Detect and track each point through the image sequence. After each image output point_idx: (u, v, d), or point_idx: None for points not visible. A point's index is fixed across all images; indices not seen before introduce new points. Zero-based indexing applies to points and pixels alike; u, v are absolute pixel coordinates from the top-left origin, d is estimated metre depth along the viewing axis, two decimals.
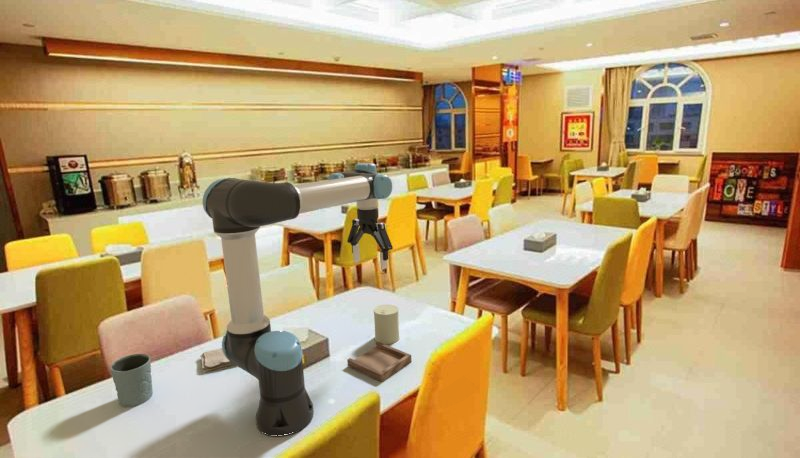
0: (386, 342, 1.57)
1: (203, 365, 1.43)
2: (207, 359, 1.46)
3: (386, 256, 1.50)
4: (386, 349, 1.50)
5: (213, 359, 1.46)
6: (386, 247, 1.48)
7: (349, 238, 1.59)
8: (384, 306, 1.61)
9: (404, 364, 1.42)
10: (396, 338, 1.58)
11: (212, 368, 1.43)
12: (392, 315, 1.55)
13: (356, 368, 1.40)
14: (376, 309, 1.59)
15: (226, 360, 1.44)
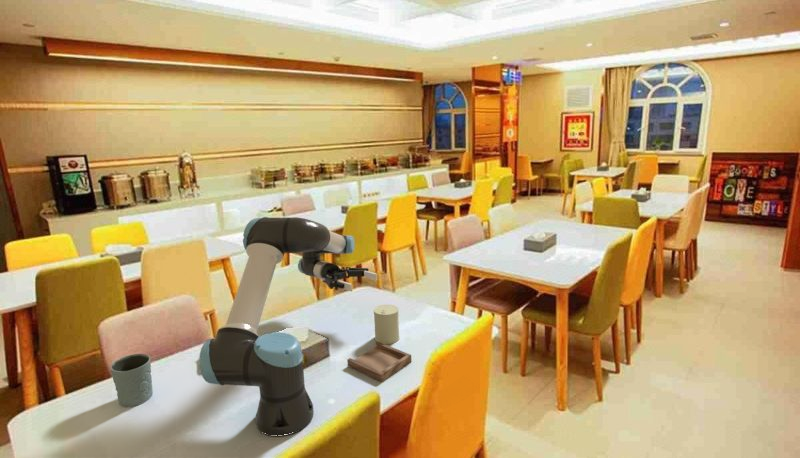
0: (386, 342, 1.57)
1: None
2: None
3: None
4: (386, 349, 1.50)
5: None
6: (365, 268, 1.75)
7: (330, 281, 1.62)
8: (384, 306, 1.61)
9: (404, 364, 1.42)
10: (396, 338, 1.58)
11: None
12: (392, 315, 1.55)
13: (356, 368, 1.40)
14: (376, 309, 1.59)
15: None
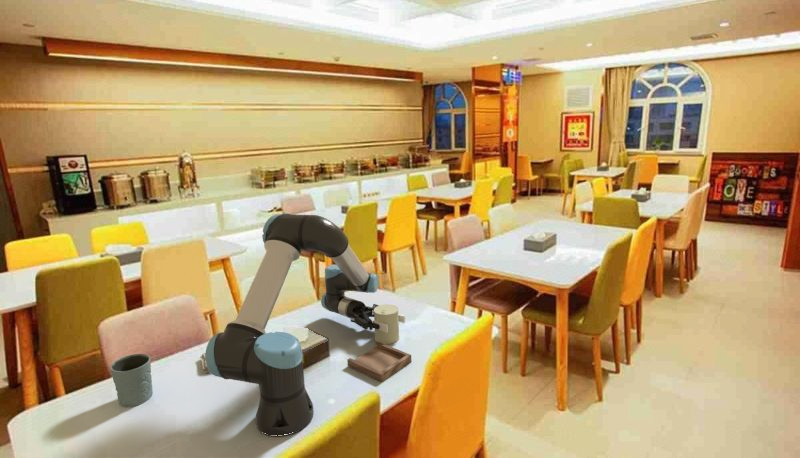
0: (386, 342, 1.57)
1: (204, 366, 1.42)
2: None
3: None
4: (386, 349, 1.50)
5: None
6: None
7: (364, 321, 1.57)
8: (384, 306, 1.61)
9: (404, 364, 1.42)
10: (396, 338, 1.58)
11: None
12: (392, 315, 1.55)
13: (356, 368, 1.40)
14: (376, 309, 1.59)
15: None
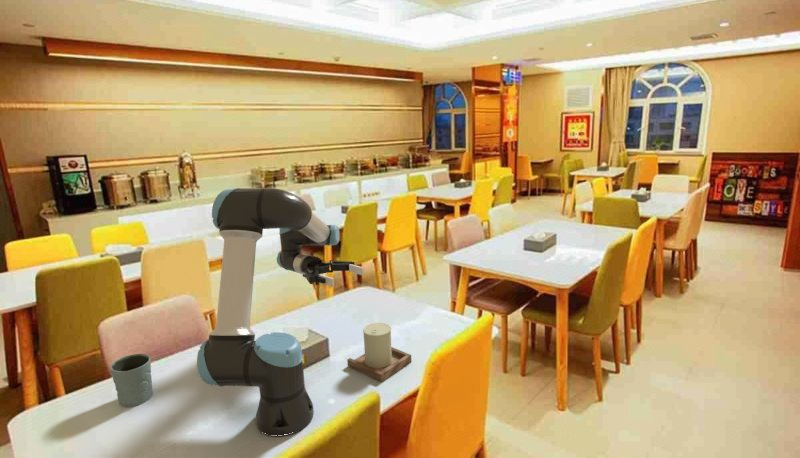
0: (377, 366, 1.39)
1: None
2: None
3: None
4: None
5: None
6: None
7: (310, 275, 1.44)
8: (375, 325, 1.44)
9: (404, 364, 1.42)
10: (388, 361, 1.41)
11: None
12: (384, 336, 1.38)
13: (356, 368, 1.40)
14: (366, 328, 1.42)
15: None
